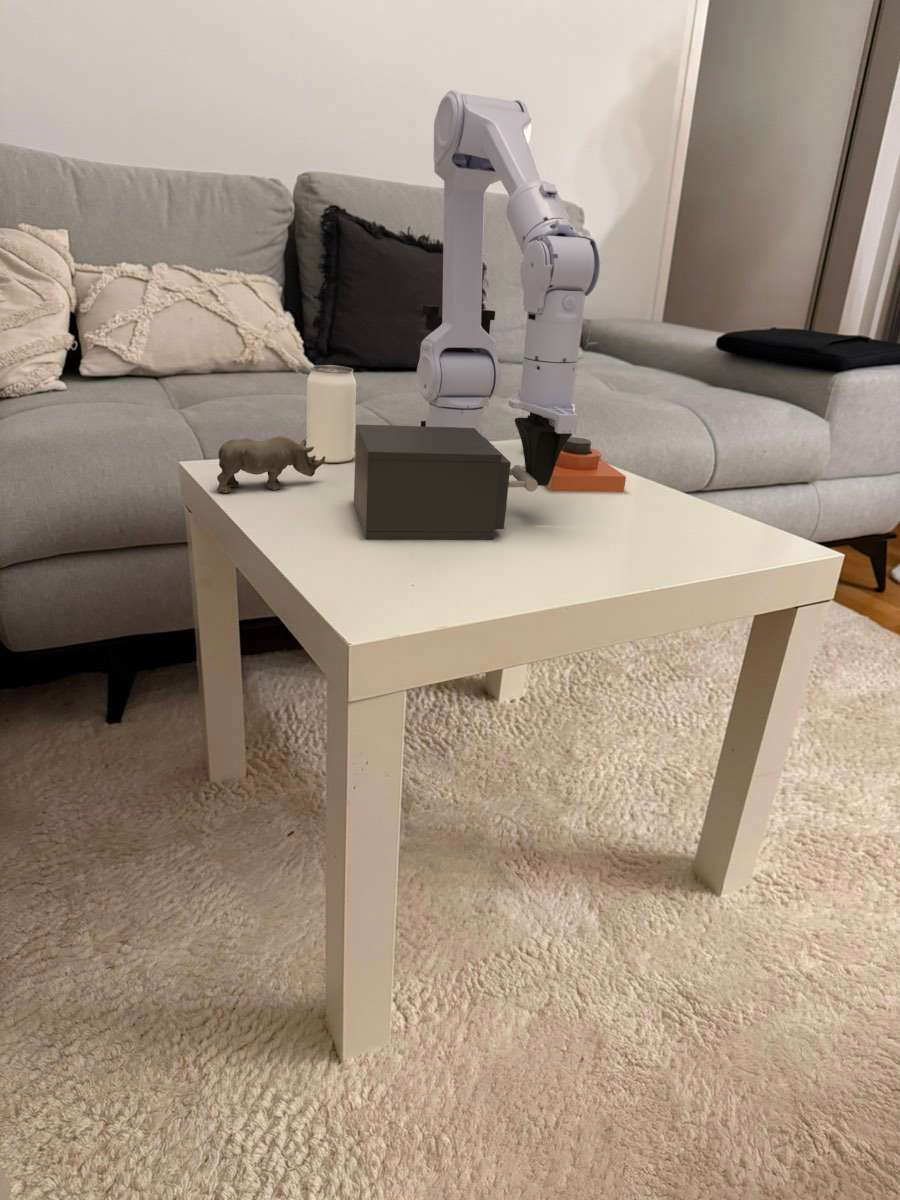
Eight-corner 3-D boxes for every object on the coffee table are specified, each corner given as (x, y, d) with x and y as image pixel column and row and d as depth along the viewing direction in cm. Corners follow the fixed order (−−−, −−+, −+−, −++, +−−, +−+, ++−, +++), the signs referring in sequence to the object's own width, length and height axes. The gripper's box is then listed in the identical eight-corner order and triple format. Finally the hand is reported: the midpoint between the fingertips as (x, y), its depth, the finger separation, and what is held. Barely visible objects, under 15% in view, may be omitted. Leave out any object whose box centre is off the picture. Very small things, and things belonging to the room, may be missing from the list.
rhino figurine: (332, 486, 104) (333, 437, 101) (220, 495, 97) (218, 443, 95) (319, 477, 107) (319, 430, 105) (210, 486, 100) (208, 435, 98)
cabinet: (468, 504, 101) (474, 427, 98) (493, 539, 90) (502, 454, 86) (353, 502, 98) (356, 424, 95) (365, 539, 87) (368, 451, 84)
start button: (559, 449, 115) (560, 436, 114) (584, 450, 116) (585, 437, 115) (567, 456, 112) (569, 443, 111) (593, 456, 113) (595, 443, 112)
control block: (525, 467, 120) (528, 439, 118) (591, 468, 122) (595, 441, 120) (550, 491, 109) (554, 461, 107) (623, 492, 111) (628, 462, 109)
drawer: (512, 498, 101) (519, 438, 99) (540, 529, 91) (548, 463, 88) (374, 496, 98) (376, 434, 95) (387, 529, 88) (390, 459, 85)
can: (345, 466, 113) (348, 374, 108) (299, 460, 114) (299, 369, 110) (360, 455, 119) (362, 367, 114) (316, 450, 120) (316, 363, 115)
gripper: (496, 348, 95) (487, 467, 101) (534, 368, 82) (522, 503, 88) (555, 350, 97) (543, 467, 102) (602, 370, 84) (586, 502, 89)
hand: (537, 484), depth 95 cm, fingers closed, pressing on drawer
